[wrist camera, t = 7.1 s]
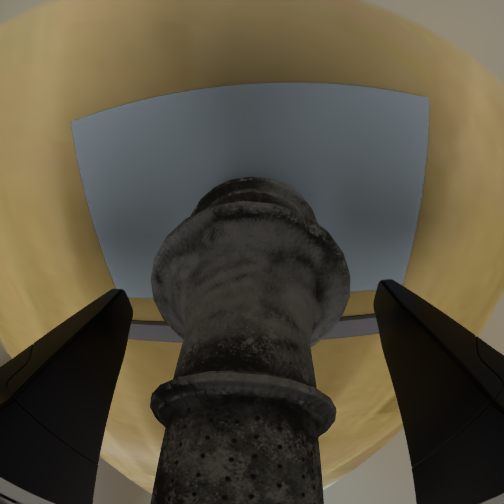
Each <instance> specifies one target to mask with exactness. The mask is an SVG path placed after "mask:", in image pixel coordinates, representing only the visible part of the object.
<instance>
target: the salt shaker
mask: <svg viewBox="0 0 504 504" xmlns="http://www.w3.org/2000/svg"><path fill="white" fill-rule="evenodd" d="M151 286H152V292H153V298H154V301H155V303H156V305H157V307H158V309H159V311H160V313H161V315H162V317H163V319H164V320H165V321H166V322H167V324H168V325H169V326H170V327H171V328H172V329H173V331H174V332H175V333H176V334H177V335H178V336H180V337H181V338H182V339H184V341H183V344H182V348H181V352H180V355H179V359H178V363H177V367H176V370H175V374H174V378H173V380H171V381H168V382H166V383H164V384H161V385H160V386H159V387H158V388H157V389H156V390H155V391H154V392H153V393H152V396H151V403H150V408H151V410H152V412H153V414H154V416H155V417H156V419H157V420H158V421H159V422H160V423H161V424H163V425H164V426H165V427H166V429H165V433H164V438H163V443H162V447H161V452H160V457H159V462H158V467H157V472H156V477H155V482H154V488H153V493H152V499H151V504H324V502H323V486H322V474H321V462H320V451H319V441H318V437H319V436H320V435H322V434H323V433H325V432H326V431H327V430H328V429H329V428H330V426H331V425H332V424H333V423H334V421H335V417H336V407H335V406H334V404H333V402H332V400H331V399H330V397H328V396H327V395H325V394H324V393H322V392H321V391H319V390H318V389H316V382H315V375H314V368H313V361H312V355H311V348H310V347H312V346H314V345H315V344H316V343H317V342H319V341H320V340H321V339H322V338H324V337H325V336H326V335H327V334H328V333H330V331H331V330H332V329H333V328H334V326H335V325H336V324H337V322H338V321H339V320H340V318H341V317H342V315H343V313H344V310H345V308H346V305H347V302H348V300H349V297H350V272H349V269H348V266H347V262H346V259H345V256H344V253H343V251H342V250H341V249H340V247H339V246H338V244H337V243H336V242H335V240H334V239H333V238H332V236H331V235H330V233H329V232H328V231H327V230H325V229H324V228H323V227H321V226H320V225H319V224H318V222H317V220H316V217H315V215H314V212H313V210H312V208H311V207H310V206H309V204H308V203H307V202H306V200H305V199H304V198H303V197H302V195H300V194H299V193H297V192H296V191H295V190H293V189H292V188H291V187H289V186H288V185H286V184H283V183H281V182H278V181H275V180H273V179H270V178H262V177H251V176H249V177H243V178H237V179H232V180H229V181H227V182H225V183H222V184H220V185H218V186H216V187H214V188H213V189H212V190H210V191H209V192H208V193H207V194H206V195H205V196H204V197H202V198H201V199H200V201H199V202H198V204H197V206H196V207H195V209H194V210H193V212H192V214H191V216H190V217H188V218H186V219H185V220H184V221H183V222H181V223H180V224H179V225H178V226H177V227H176V228H175V229H174V230H173V231H172V232H171V233H170V234H168V235H167V236H166V238H165V240H164V241H163V243H162V245H161V247H160V249H159V250H158V252H157V254H156V256H155V258H154V262H153V268H152V274H151Z"/></svg>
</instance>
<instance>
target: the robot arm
mask: <svg viewBox="0 0 504 504" xmlns="http://www.w3.org/2000/svg"><path fill="white" fill-rule="evenodd" d="M374 311H375V316H376V320H377V325H378V329H379V334H380V339H381V344H382V348H383V352H384V356H385V359H386V362H387V366H388V369H389V372H390V376H391V379H392V383H393V386H394V390H395V394H396V398H397V401H398V405H399V409H400V413H401V417H402V422H403V426H404V430H405V435H406V440H407V445H408V450H409V455H410V460H411V465H412V473H413V479H414V486H415V493H416V502H417V504H504V355H502V354H501V353H499V352H498V351H496V350H495V349H493V348H492V347H491V346H489V345H488V344H487V343H485V342H484V341H482V340H481V339H480V338H478V337H475V335H474V334H473V333H471V332H470V331H469V330H467V329H466V328H464V327H463V326H462V325H460V324H459V323H457V322H456V321H455V320H453V319H452V318H450V317H449V316H447V315H446V314H444V313H443V312H442V311H440V310H439V309H437V308H436V307H434V306H433V305H431V304H430V303H428V302H427V301H425V300H424V299H422V298H421V297H419V296H418V295H416V294H415V293H413V292H412V291H410V290H408V289H407V288H405V287H404V286H402V285H401V284H399V283H398V282H396V281H394V280H393V279H385V280H380V281H379V283H378V286H377V290H376V294H375V298H374ZM132 317H133V309H132V306H131V304H130V301H129V299H128V296H127V294H126V292H125V291H124V290H123V289H111V290H110V291H108V292H107V293H105V294H104V295H102V296H101V297H99V298H98V299H96V300H95V301H93V302H92V303H90V304H89V305H87V306H86V307H84V308H83V309H82V310H80V311H79V312H77V313H76V314H74V315H73V316H71V317H70V318H68V319H67V320H66V321H64V322H63V323H61V324H60V325H58V326H57V327H56V328H54V329H53V330H51V331H50V332H49V333H47V334H46V335H44V336H43V337H42V338H40V339H39V340H38V341H36V342H35V343H34V345H33V344H32V345H31V346H29V347H28V348H27V349H25V350H24V351H23V352H21V353H20V354H18V355H17V356H16V357H14V358H13V359H11V360H10V361H8V362H7V363H6V364H4V365H3V366H1V367H0V504H92V503H93V495H94V487H95V481H96V474H97V468H98V465H97V464H98V461H99V456H100V451H101V446H102V441H103V436H104V431H105V427H106V422H107V418H108V414H109V410H110V406H111V402H112V398H113V394H114V390H115V387H116V383H117V379H118V376H119V372H120V369H121V365H122V362H123V358H124V355H125V350H126V346H127V341H128V336H129V331H130V326H131V322H132Z"/></svg>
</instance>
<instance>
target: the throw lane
mask: <svg viewBox="0 0 504 504" xmlns="http://www.w3.org/2000/svg"><path fill="white" fill-rule="evenodd" d="M71 125H72V132H73V138H74V144H75V150H76V155H77V160H78V165H79V170H80V175H81V179H82V183H83V187H84V191H85V195H86V199H87V203H88V207H89V210H90V214H91V217H92V221H93V224H94V228H95V231H96V234H97V237H98V240H99V243H100V246H101V249H102V252H103V255H104V258H105V261H106V263H107V266H108V269H109V272H110V274H111V277H112V279H113V282H114V285H115V287H116V289H123V290H124V291H125V292H126V294H127V296H128V298H153V292H152V286H151V274H152V268H153V262H154V258H155V256H156V254H157V252H158V250H159V249H160V247H161V245H162V243H163V241H164V240H165V238H166V236H167V235H168V234H170V233H171V232H172V231H173V230H174V229H175V228H176V227H177V226H178V225H179V224H180V223H181V222H183V221H184V220H185V219H186V218H188V217H190V216H191V214H192V212H193V210H194V209H195V207H196V206H197V204H198V202H199V201H200V199H201V198H202V197H204V196H205V195H206V194H207V193H208V192H209V191H210V190H212V189H213V188H214V187H216V186H218V185H220V184H222V183H225V182H227V181H229V180H232V179H237V178H243V177H249V176H251V177H262V178H270V179H273V180H275V181H278V182H281V183H283V184H286V185H288V186H289V187H291V188H292V189H293V190H295V191H296V192H297V193H299V194H300V195H302V197H303V198H304V199H305V200H306V202H307V203H308V204H309V206H310V207H311V208H312V210H313V212H314V215H315V217H316V220H317V222H318V224H319V225H320V226H321V227H323V228H324V229H325V230H327V231H328V232H329V233H330V235H331V236H332V238H333V239H334V240H335V242H336V243H337V244H338V246H339V247H340V249H341V250H342V251H343V253H344V256H345V259H346V262H347V266H348V269H349V272H350V292H355V291H367V290H377V286H378V283H379V281H380V280H385V279H393V280H394V281H396V282H398V283H399V284H401V285H403V281H404V278H405V274H406V270H407V266H408V263H409V259H410V255H411V250H412V246H413V242H414V237H415V232H416V227H417V222H418V217H419V211H420V206H421V199H422V193H423V186H424V178H425V169H426V159H427V147H428V130H429V98H427V97H422V96H418V95H413V94H408V93H403V92H397V91H392V90H385V89H379V88H371V87H363V86H354V85H343V84H329V83H303V82H281V83H254V84H240V85H229V86H219V87H211V88H203V89H196V90H190V91H184V92H178V93H173V94H168V95H163V96H158V97H153V98H149V99H145V100H140V101H136V102H132V103H129V104H125V105H121V106H118V107H114V108H111V109H108V110H104V111H101V112H98V113H95V114H92V115H89V116H86V117H83V118H80V119H78V120H75V121H72V122H71ZM377 333H379V329H378V325H377V320H376V316H375V314H371V315H362V316H352V317H341V318H340V320H339V321H338V322H337V324H336V325H335V326H334V328H333V329H332V330H331V331H330V333H328V334H327V335H326V336H325V337H324V338H322V339H334V338H344V337H353V336H362V335H370V334H377ZM128 339H136V340H149V341H164V342H183V341H184V339H182V338H181V337H180V336H178V335H177V334H176V333H175V332H174V331H173V329H172V328H171V327H170V326H169V325H168V324H167V322H149V321H132V322H131V326H130V331H129V336H128ZM322 339H321V340H322Z"/></svg>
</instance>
